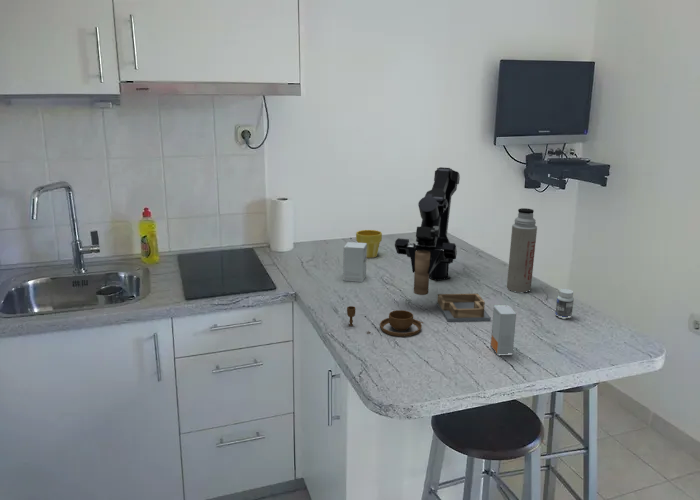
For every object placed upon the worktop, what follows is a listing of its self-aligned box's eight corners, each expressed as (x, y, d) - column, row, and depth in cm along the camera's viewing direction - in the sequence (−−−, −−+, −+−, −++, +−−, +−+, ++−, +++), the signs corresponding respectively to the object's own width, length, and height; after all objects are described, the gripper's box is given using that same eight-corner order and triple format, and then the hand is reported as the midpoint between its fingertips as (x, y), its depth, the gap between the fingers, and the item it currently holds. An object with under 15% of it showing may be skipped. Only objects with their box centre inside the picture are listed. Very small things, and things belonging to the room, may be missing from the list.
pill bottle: (551, 315, 178) (554, 289, 176) (564, 313, 180) (567, 287, 178) (562, 320, 174) (565, 294, 172) (574, 318, 176) (578, 292, 173)
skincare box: (489, 346, 157) (493, 305, 153) (505, 346, 157) (508, 304, 154) (497, 356, 151) (500, 313, 147) (513, 356, 151) (517, 313, 148)
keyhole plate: (436, 304, 186) (437, 293, 185) (476, 303, 187) (477, 292, 186) (447, 321, 172) (448, 310, 171) (490, 320, 173) (491, 309, 172)
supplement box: (363, 282, 206) (363, 248, 202) (342, 281, 207) (342, 246, 204) (366, 276, 213) (367, 242, 209) (346, 274, 214) (347, 241, 211)
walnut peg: (420, 288, 183) (422, 249, 180) (431, 292, 180) (433, 252, 176) (410, 292, 180) (412, 251, 177) (421, 296, 177) (423, 255, 173)
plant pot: (357, 251, 243) (357, 228, 240) (382, 252, 242) (382, 229, 239) (354, 258, 233) (354, 235, 231) (380, 260, 232) (380, 236, 229)
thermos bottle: (535, 290, 199) (544, 210, 191) (518, 294, 195) (525, 212, 188) (519, 283, 206) (526, 206, 198) (501, 287, 202) (508, 208, 194)
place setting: (400, 346, 157) (401, 326, 156) (343, 327, 169) (343, 308, 168) (433, 326, 171) (434, 307, 169) (378, 310, 183) (378, 292, 181)
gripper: (397, 213, 180) (387, 257, 173) (457, 217, 174) (449, 263, 167) (402, 231, 189) (392, 274, 182) (459, 236, 184) (452, 280, 177)
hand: (421, 272), depth 177 cm, fingers closed on walnut peg, 4 cm apart
